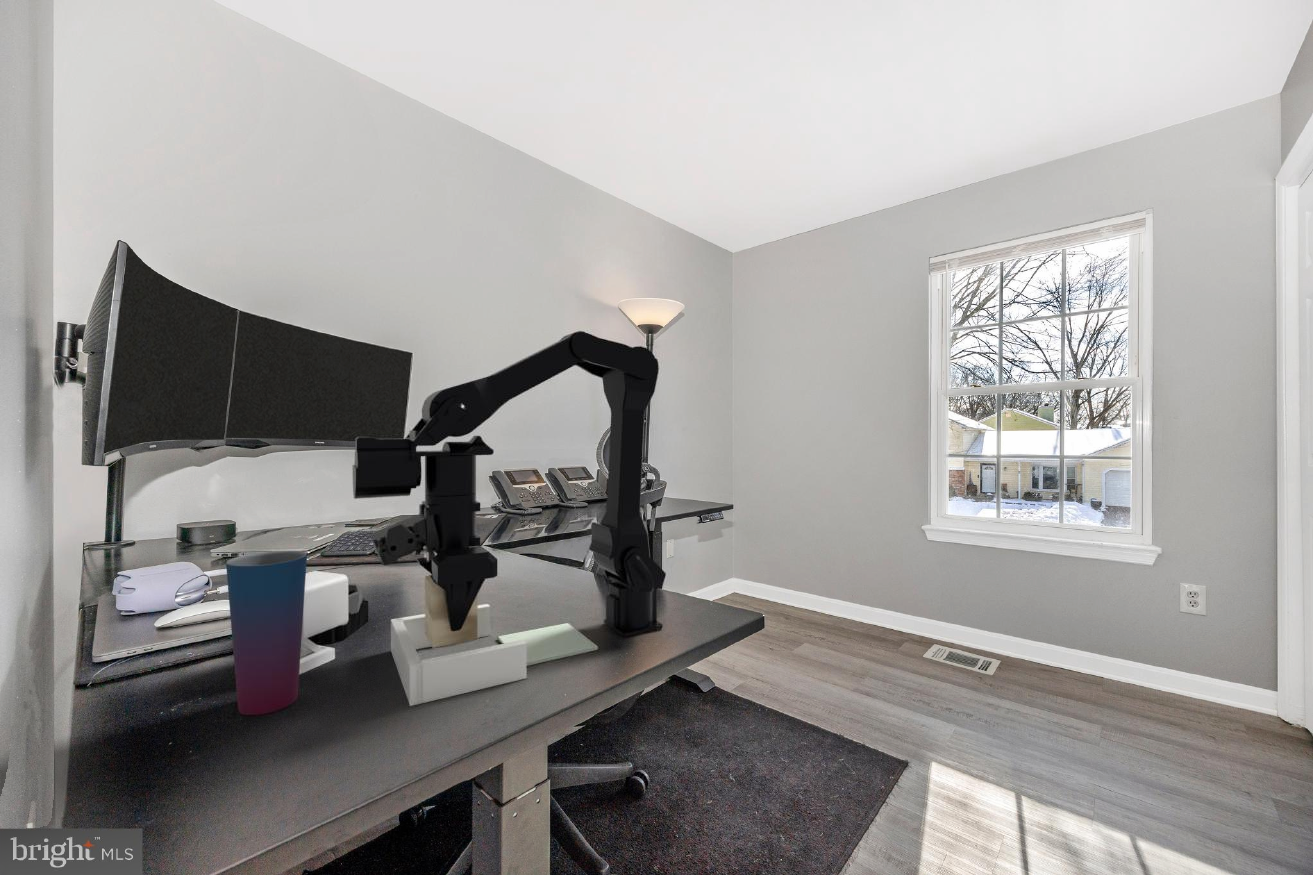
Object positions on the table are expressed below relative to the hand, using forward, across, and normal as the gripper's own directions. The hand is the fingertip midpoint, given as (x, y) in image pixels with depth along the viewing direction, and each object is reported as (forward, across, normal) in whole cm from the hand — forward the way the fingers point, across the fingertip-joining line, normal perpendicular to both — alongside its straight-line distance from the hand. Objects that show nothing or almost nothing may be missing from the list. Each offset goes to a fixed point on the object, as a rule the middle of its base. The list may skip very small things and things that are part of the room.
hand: (451, 623), depth 66 cm
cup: (+5, 0, -18) cm, 19 cm away
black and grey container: (+5, -20, -13) cm, 25 cm away
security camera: (+5, -10, -15) cm, 19 cm away
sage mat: (+5, 0, +12) cm, 13 cm away
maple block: (+2, 0, 0) cm, 2 cm away
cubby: (+5, 0, 0) cm, 5 cm away
